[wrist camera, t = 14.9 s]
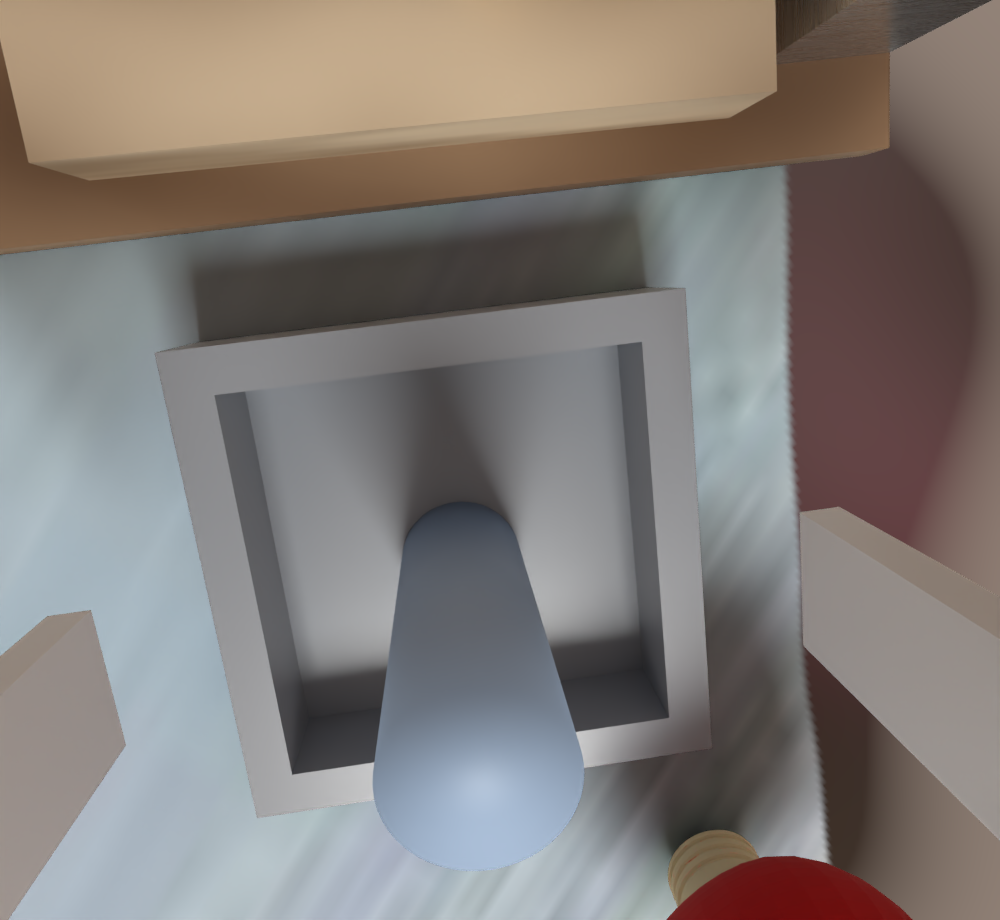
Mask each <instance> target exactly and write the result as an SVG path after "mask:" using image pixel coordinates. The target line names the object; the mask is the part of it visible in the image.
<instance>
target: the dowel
mask: <svg viewBox="0 0 1000 920" xmlns="http://www.w3.org/2000/svg"><path fill="white" fill-rule="evenodd" d="M583 784H584V761H583V756H582V751H581V748H580V745H579V741H578V738H577V735H576V731H575V728H574V725H573V722H572V718H571V715H570V712H569V708H568V705H567V702H566V699H565V695H564V692H563V689H562V685H561V682H560V679H559V676H558V672H557V669H556V666H555V662H554V659H553V656H552V652H551V649H550V646H549V643H548V639H547V636H546V633H545V629H544V626H543V623H542V620H541V616H540V613H539V610H538V606H537V603H536V600H535V597H534V593H533V590H532V587H531V583H530V580H529V577H528V573H527V570H526V567H525V564H524V560H523V557H522V554H521V550H520V547H519V544H518V541H517V538H516V535H515V533H514V531H513V529H512V528H511V526H510V525H509V524H508V522H507V521H506V520H505V519H504V518H503V517H502V516H501V515H499V514H498V513H497V512H495V511H494V510H492V509H490V508H488V507H486V506H484V505H480V504H477V503H472V502H452V503H447V504H444V505H441V506H438V507H436V508H434V509H432V510H430V511H429V512H427V513H426V514H424V515H423V516H422V517H421V518H420V519H419V520H418V521H417V522H416V523H415V524H414V525H413V527H412V528H411V530H410V531H409V534H408V536H407V538H406V540H405V543H404V548H403V553H402V561H401V568H400V576H399V583H398V590H397V598H396V605H395V613H394V620H393V628H392V635H391V642H390V650H389V657H388V665H387V672H386V679H385V687H384V694H383V702H382V709H381V717H380V724H379V731H378V739H377V746H376V754H375V761H374V769H373V784H372V786H373V794H374V800H375V804H376V807H377V810H378V813H379V815H380V817H381V819H382V821H383V823H384V825H385V826H386V828H387V829H388V831H389V832H390V833H391V835H392V836H393V837H394V838H395V839H396V840H397V841H398V842H399V843H400V844H401V845H402V846H403V847H404V848H405V849H407V850H408V851H410V852H411V853H413V854H414V855H416V856H417V857H419V858H421V859H423V860H425V861H427V862H429V863H432V864H435V865H438V866H441V867H445V868H449V869H454V870H463V871H484V870H493V869H498V868H502V867H506V866H509V865H512V864H515V863H518V862H520V861H522V860H525V859H527V858H529V857H531V856H533V855H534V854H536V853H537V852H539V851H541V850H542V849H543V848H545V847H546V846H547V845H548V844H550V843H551V842H552V841H553V840H554V839H555V838H556V837H557V836H558V835H559V834H560V833H561V832H562V831H563V829H564V828H565V827H566V825H567V824H568V823H569V821H570V820H571V818H572V816H573V814H574V813H575V811H576V808H577V806H578V804H579V801H580V798H581V794H582V790H583Z"/></svg>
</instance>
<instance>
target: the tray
mask: <svg viewBox="0 0 1000 920" xmlns="http://www.w3.org/2000/svg"><path fill="white" fill-rule="evenodd" d="M155 357H156V362H157V366H158V371H159V375H160V380H161V384H162V389H163V393H164V398H165V402H166V407H167V412H168V416H169V421H170V425H171V430H172V434H173V439H174V443H175V448H176V452H177V457H178V461H179V466H180V470H181V475H182V480H183V484H184V489H185V493H186V498H187V502H188V507H189V511H190V516H191V520H192V525H193V529H194V534H195V538H196V543H197V548H198V552H199V557H200V561H201V566H202V570H203V575H204V579H205V584H206V588H207V593H208V597H209V602H210V606H211V611H212V616H213V620H214V625H215V629H216V634H217V638H218V643H219V647H220V652H221V656H222V661H223V665H224V670H225V674H226V679H227V684H228V688H229V693H230V697H231V702H232V706H233V711H234V715H235V720H236V724H237V729H238V733H239V738H240V742H241V747H242V752H243V756H244V761H245V765H246V770H247V774H248V779H249V783H250V788H251V792H252V797H253V801H254V806H255V810H256V815H257V818H261V817H267V816H274V815H280V814H287V813H294V812H300V811H307V810H313V809H320V808H326V807H333V806H339V805H346V804H352V803H359V802H365V801H372V800H374V794H373V786H372V784H373V769H374V761H375V754H376V746H377V739H378V731H379V724H380V717H381V709H382V702H383V694H384V687H385V679H386V672H387V665H388V657H389V650H390V642H391V635H392V628H393V620H394V613H395V605H396V598H397V590H398V583H399V576H400V568H401V561H402V553H403V548H404V543H405V540H406V538H407V536H408V534H409V531H410V530H411V528H412V527H413V525H414V524H415V523H416V522H417V521H418V520H419V519H420V518H421V517H422V516H423V515H424V514H426V513H427V512H429V511H430V510H432V509H434V508H436V507H438V506H441V505H444V504H447V503H452V502H472V503H477V504H480V505H484V506H486V507H488V508H490V509H492V510H494V511H495V512H497V513H498V514H499V515H501V516H502V517H503V518H504V519H505V520H506V521H507V522H508V524H509V525H510V526H511V528H512V529H513V531H514V533H515V535H516V538H517V541H518V544H519V547H520V550H521V554H522V557H523V560H524V564H525V567H526V570H527V573H528V577H529V580H530V583H531V587H532V590H533V593H534V597H535V600H536V603H537V606H538V610H539V613H540V616H541V620H542V623H543V626H544V629H545V633H546V636H547V639H548V643H549V646H550V649H551V652H552V656H553V659H554V662H555V666H556V669H557V672H558V676H559V679H560V682H561V685H562V689H563V692H564V695H565V699H566V702H567V705H568V708H569V712H570V715H571V718H572V722H573V725H574V728H575V731H576V735H577V738H578V741H579V745H580V748H581V751H582V756H583V761H584V768H588V767H594V766H601V765H607V764H614V763H620V762H627V761H633V760H640V759H647V758H653V757H660V756H666V755H673V754H679V753H686V752H692V751H699V750H705V749H712V737H711V720H710V703H709V686H708V669H707V652H706V634H705V617H704V600H703V583H702V566H701V549H700V532H699V514H698V497H697V480H696V463H695V446H694V429H693V412H692V394H691V377H690V360H689V343H688V326H687V309H686V292H685V288H655V287H646V288H638V289H630V290H621V291H613V292H605V293H597V294H589V295H580V296H572V297H564V298H556V299H547V300H539V301H531V302H523V303H514V304H506V305H498V306H490V307H482V308H473V309H465V310H457V311H449V312H440V313H432V314H424V315H416V316H408V317H399V318H391V319H383V320H375V321H366V322H358V323H350V324H342V325H334V326H325V327H317V328H309V329H301V330H292V331H284V332H276V333H268V334H260V335H251V336H243V337H235V338H227V339H218V340H210V341H202V342H197V343H192V344H188V345H184V346H180V347H176V348H172V349H168V350H164V351H160V352H156V353H155Z"/></svg>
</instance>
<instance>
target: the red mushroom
mask: <svg viewBox="0 0 1000 920" xmlns="http://www.w3.org/2000/svg"><path fill="white" fill-rule="evenodd" d="M668 882H669V886H670V889H671V891H672V893H673V896H674V899H675V901H676V903H677V907H678V908H677V909H676V910H675V911H674V912H673V913H672V914H671V915H670V916H669V917H668V919H667V920H912V919H911V918H910V917H909V916H908V915H907V914H906V913H905V912H904V911H903V910H902V909H901V908H900V907H899V906H897V905H896V904H895V903H894V902H893V901H891V900H890V899H889V898H887V897H886V896H885V895H883V894H882V893H881V892H879V891H878V890H877V889H875V888H874V887H872V886H871V885H870V884H868V883H867V882H865V881H863V880H862V879H860V878H858V877H856V876H854V875H852V874H850V873H848V872H845V871H843V870H841V869H838V868H836V867H834V866H832V865H829V864H827V863H824V862H820V861H815V860H810V859H805V858H800V857H796V856H779V857H762V858H759V856H758V855H757V853H756V851H755V849H754V848H753V846H752V845H751V844H750V843H749V842H748V841H747V840H746V839H745V838H743V837H742V836H740V835H739V834H737V833H734V832H731V831H727V830H709V831H705V832H702V833H699V834H696V835H694V836H692V837H691V838H689V839H688V840H686V841H685V842H684V843H683V844H682V845H680V846H679V848H678V849H677V850H676V851H675V853H674V855H673V856H672V858H671V861H670V863H669V868H668Z"/></svg>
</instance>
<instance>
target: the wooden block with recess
mask: <svg viewBox="0 0 1000 920" xmlns="http://www.w3.org/2000/svg"><path fill="white" fill-rule="evenodd" d="M0 42H1V46H2V50H3V55H4V59H5V63H6V67H7V72H8V76H9V80H10V85H11V89H12V93H13V98H14V102H15V106H16V110H17V115H18V119H19V123H20V128H21V132H22V136H23V141H24V145H25V149H26V153H27V158H28V162H29V163H31V164H34V165H38V166H41V167H45V168H48V169H51V170H55V171H58V172H62V173H65V174H68V175H72V176H75V177H79V178H82V179H86V180H89V181H90V180H101V179H111V178H121V177H131V176H142V175H152V174H162V173H172V172H183V171H193V170H203V169H213V168H224V167H234V166H244V165H254V164H265V163H275V162H285V161H295V160H306V159H316V158H326V157H336V156H347V155H357V154H367V153H377V152H387V151H398V150H408V149H418V148H428V147H439V146H449V145H459V144H469V143H480V142H490V141H500V140H510V139H521V138H531V137H541V136H551V135H562V134H572V133H582V132H592V131H603V130H613V129H623V128H633V127H644V126H654V125H664V124H674V123H685V122H695V121H705V120H715V119H726V118H730V117H732V116H734V115H735V114H737V113H739V112H741V111H742V110H744V109H746V108H748V107H750V106H751V105H753V104H755V103H757V102H758V101H760V100H762V99H764V98H765V97H767V96H769V95H771V94H773V93H774V92H776V91H777V64H776V10H775V0H0Z"/></svg>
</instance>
